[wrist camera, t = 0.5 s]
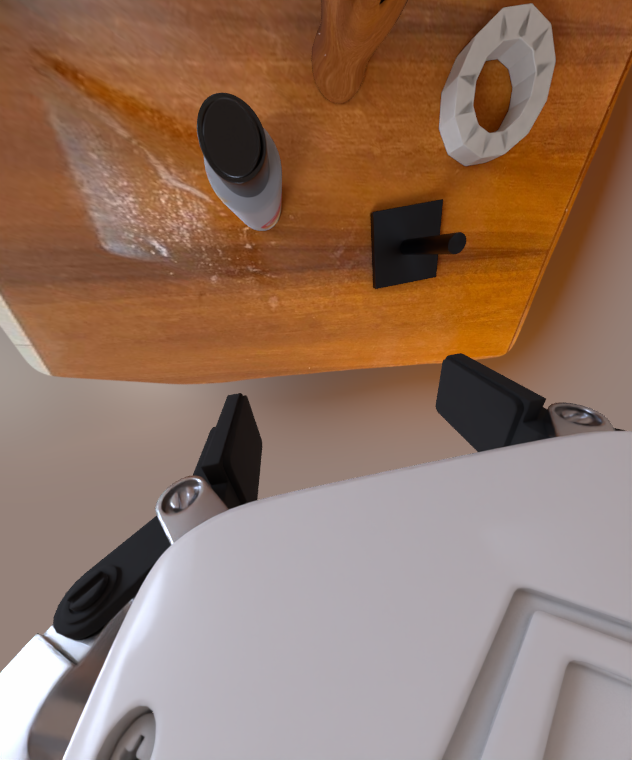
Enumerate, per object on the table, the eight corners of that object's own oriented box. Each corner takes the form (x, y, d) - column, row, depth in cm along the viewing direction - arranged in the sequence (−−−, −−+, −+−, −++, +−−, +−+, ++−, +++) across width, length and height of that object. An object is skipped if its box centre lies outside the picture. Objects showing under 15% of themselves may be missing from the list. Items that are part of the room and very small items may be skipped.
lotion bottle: (289, 204, 30) (303, 134, 13) (264, 241, 32) (246, 224, 15) (253, 165, 28) (209, 18, 11) (228, 207, 30) (155, 140, 12)
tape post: (370, 213, 32) (414, 192, 22) (438, 200, 33) (514, 174, 22) (373, 288, 37) (410, 300, 26) (431, 276, 38) (491, 284, 27)
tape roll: (445, 37, 25) (464, 12, 23) (541, 23, 26) (570, -4, 23) (435, 171, 31) (449, 163, 28) (514, 157, 31) (535, 148, 29)
